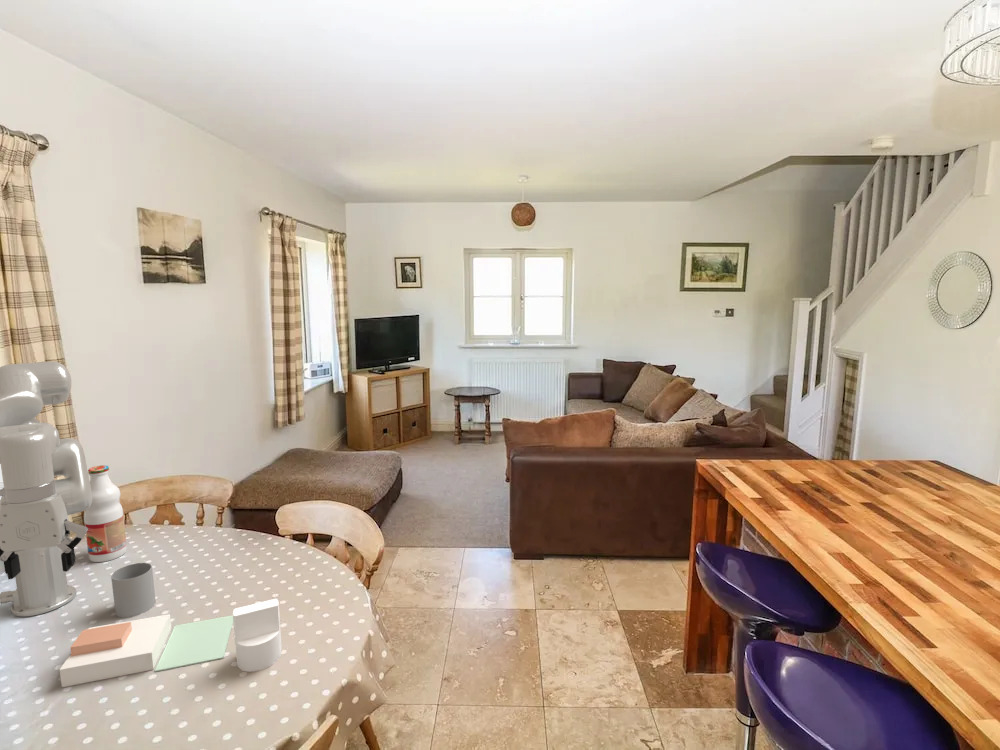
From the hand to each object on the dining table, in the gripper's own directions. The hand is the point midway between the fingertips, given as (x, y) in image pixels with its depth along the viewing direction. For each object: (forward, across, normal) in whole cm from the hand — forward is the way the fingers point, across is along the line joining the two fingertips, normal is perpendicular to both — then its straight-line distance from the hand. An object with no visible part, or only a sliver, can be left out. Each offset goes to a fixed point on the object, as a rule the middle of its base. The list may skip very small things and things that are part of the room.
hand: (42, 571), depth 106 cm
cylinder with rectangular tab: (+23, +41, -10) cm, 48 cm away
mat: (+22, +27, 0) cm, 35 cm away
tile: (+18, +9, 0) cm, 20 cm away
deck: (+22, +12, 0) cm, 25 cm away
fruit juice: (+22, -8, +54) cm, 59 cm away
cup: (+22, +9, +20) cm, 31 cm away
